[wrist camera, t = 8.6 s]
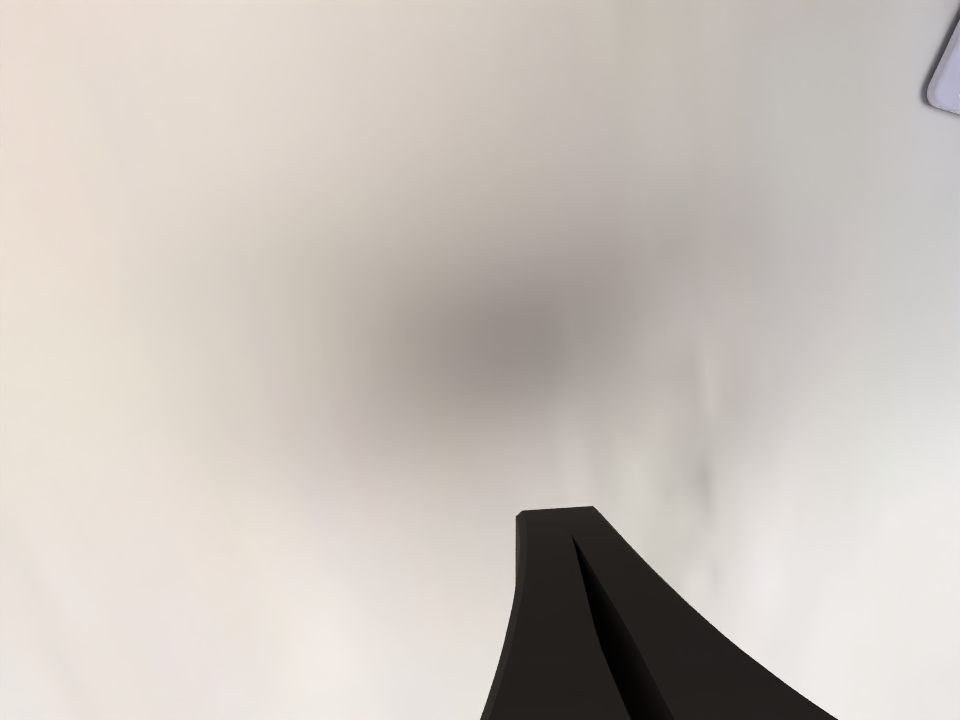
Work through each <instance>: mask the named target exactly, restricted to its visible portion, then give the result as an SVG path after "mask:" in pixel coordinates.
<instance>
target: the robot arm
mask: <svg viewBox="0 0 960 720" xmlns="http://www.w3.org/2000/svg"><path fill="white" fill-rule="evenodd" d="M927 99H928V100H929V102H930V104H931V105H933V106H934V107H937V108H940V109H943V110H947V111H950V112H953V113H956V114H960V20H959V22H958V24H957V26H956V28H955V30H954V33H953V35H952V37H951V39H950V41H949V43H948V45H947V47H946V50H945V52H944V54H943V56H942V58H941V60H940V62H939V64H938V67H937V69H936V71H935V73H934V75H933V77H932V79H931V81H930V84H929V87H928V90H927ZM480 720H838V719H836V718H835V717H833V716H832V715H830V714H829V713H827V712H826V711H824V710H823V709H821V708H820V707H818V706H817V705H815V704H814V703H812V702H811V701H809V700H808V699H807V698H805V697H804V696H802V695H801V694H799V693H798V692H797V691H795V690H794V689H792V688H791V687H790V686H788V685H787V684H786V683H784V682H783V681H782V680H780V679H779V678H778V677H776V676H775V675H774V674H772V673H771V672H770V671H768V670H767V669H766V668H765V667H763V666H762V665H761V664H759V663H758V662H757V661H755V660H754V659H753V658H751V657H750V656H749V655H747V654H746V653H745V652H744V651H742V650H741V649H740V648H739V647H737V646H736V645H735V644H734V643H733V642H731V641H730V640H729V639H728V638H727V637H725V636H724V635H723V634H722V633H721V632H720V631H718V630H717V629H716V628H715V627H714V626H713V625H712V624H710V623H709V622H708V621H707V620H706V619H705V618H704V617H703V616H701V615H700V614H699V613H698V612H697V611H696V610H695V609H694V608H693V607H692V606H690V605H689V604H688V603H687V602H686V601H685V600H684V599H683V598H682V597H681V596H680V595H679V594H678V593H677V592H676V591H675V590H674V589H673V588H672V587H671V586H669V585H668V584H667V583H666V582H665V581H664V580H663V579H662V578H661V577H660V576H659V575H658V574H657V573H656V572H655V571H654V570H653V569H652V568H651V567H650V566H649V565H648V564H647V563H646V562H645V561H644V560H643V559H642V558H641V557H640V555H639V554H638V553H637V552H636V551H635V550H634V549H633V548H632V547H631V546H630V545H629V544H628V543H627V542H626V541H625V540H624V539H623V537H622V536H621V535H620V534H619V533H618V532H617V531H616V530H615V529H614V528H613V527H612V525H611V524H610V523H609V522H608V521H607V520H606V519H605V518H604V517H603V516H602V514H601V513H600V512H599V511H598V510H597V509H596V508H594V507H593V506H588V507H572V508H556V509H540V510H524V511H522V512H520V513H519V514H518V515H517V516H516V587H515V594H514V600H513V605H512V610H511V615H510V619H509V623H508V628H507V632H506V636H505V641H504V645H503V649H502V652H501V656H500V660H499V663H498V667H497V670H496V673H495V677H494V680H493V683H492V686H491V689H490V692H489V696H488V699H487V702H486V705H485V708H484V710H483V713H482V716H481V718H480Z"/></svg>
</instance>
